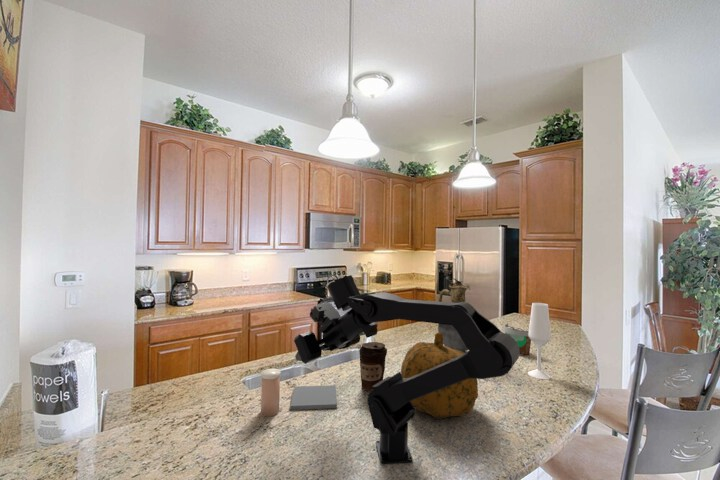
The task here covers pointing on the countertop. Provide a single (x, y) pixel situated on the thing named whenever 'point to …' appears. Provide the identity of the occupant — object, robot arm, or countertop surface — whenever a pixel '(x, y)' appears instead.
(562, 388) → the countertop surface
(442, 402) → the decorative pumpkin
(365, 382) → the coffee cup
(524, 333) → the food container
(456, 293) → the pitcher
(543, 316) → the champagne flute
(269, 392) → the terracotta canister
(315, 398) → the mat
